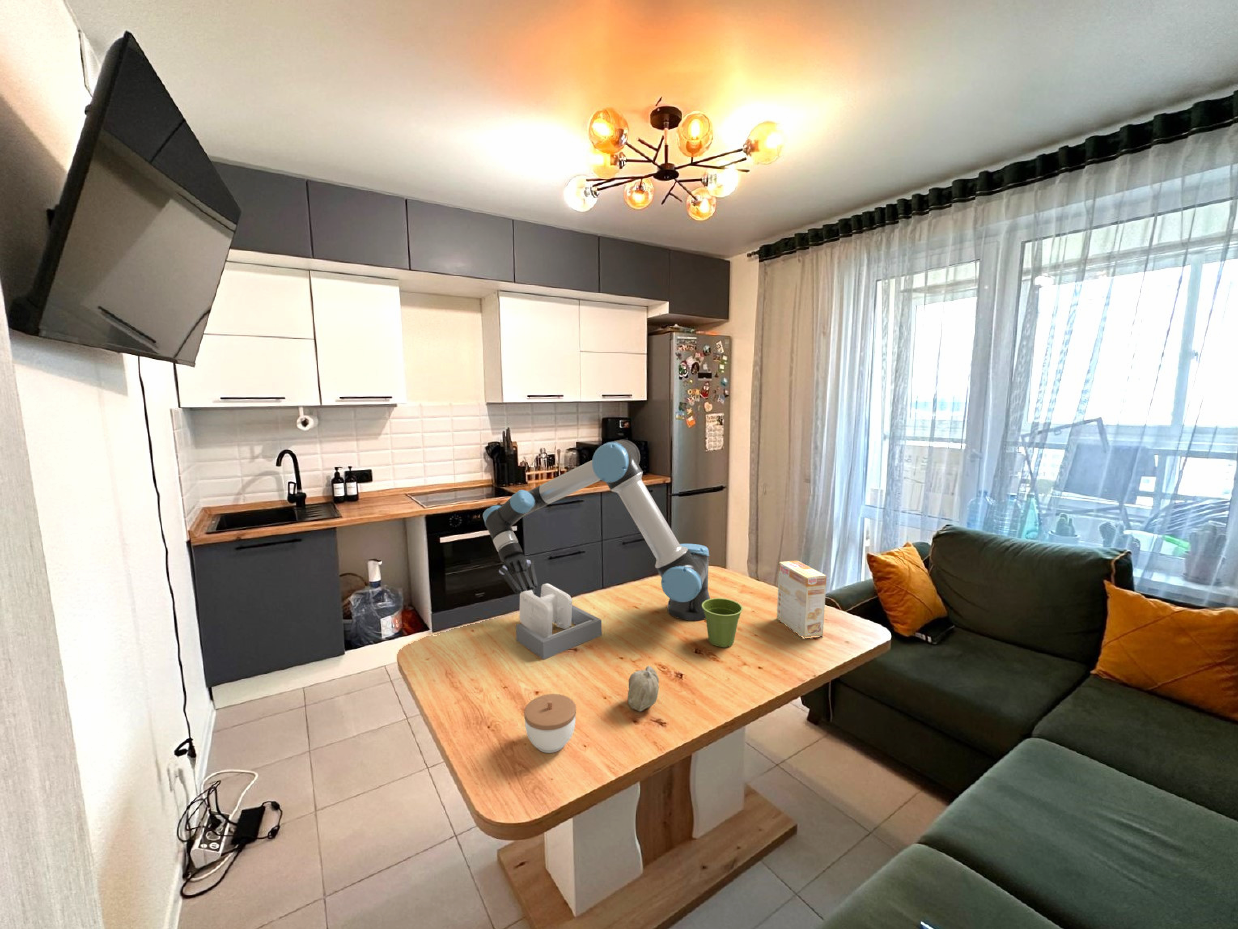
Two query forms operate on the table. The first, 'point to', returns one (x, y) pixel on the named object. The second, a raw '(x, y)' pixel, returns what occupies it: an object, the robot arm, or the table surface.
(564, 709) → the lidded jar
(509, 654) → the table surface
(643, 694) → the grey lumpy rounded piece
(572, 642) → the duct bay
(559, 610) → the cable organizer
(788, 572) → the coffeecake box
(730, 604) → the plant pot
